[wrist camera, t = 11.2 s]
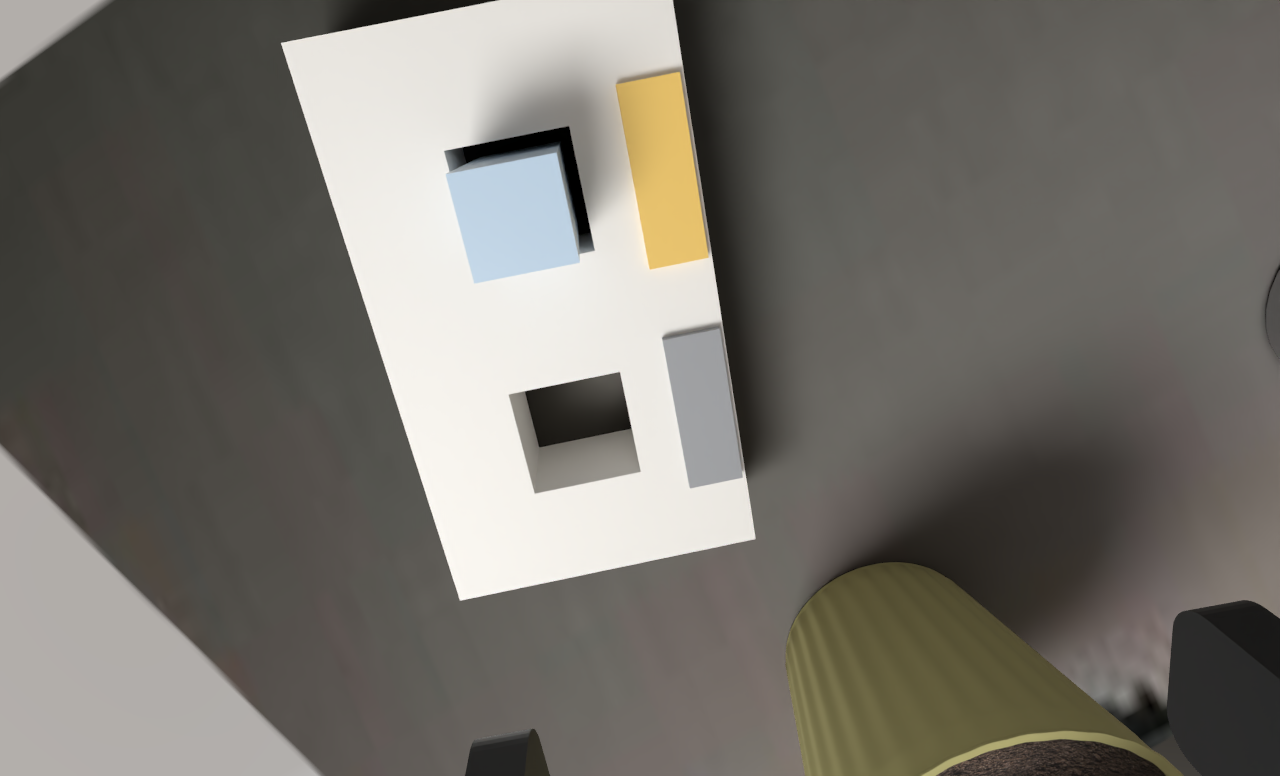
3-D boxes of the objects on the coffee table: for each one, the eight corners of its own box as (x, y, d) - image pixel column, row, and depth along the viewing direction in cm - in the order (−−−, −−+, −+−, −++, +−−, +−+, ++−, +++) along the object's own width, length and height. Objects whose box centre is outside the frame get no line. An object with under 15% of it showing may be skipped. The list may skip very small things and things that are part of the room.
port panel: (653, -12, 32) (668, -35, 27) (734, 489, 40) (757, 543, 35) (323, 53, 32) (277, 42, 27) (473, 543, 40) (458, 605, 35)
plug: (560, 141, 34) (556, 152, 24) (577, 222, 35) (579, 262, 26) (480, 157, 34) (445, 174, 24) (500, 237, 35) (474, 283, 26)
